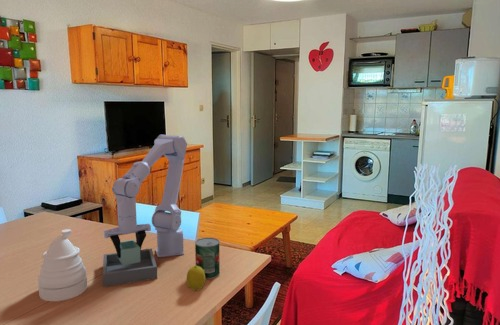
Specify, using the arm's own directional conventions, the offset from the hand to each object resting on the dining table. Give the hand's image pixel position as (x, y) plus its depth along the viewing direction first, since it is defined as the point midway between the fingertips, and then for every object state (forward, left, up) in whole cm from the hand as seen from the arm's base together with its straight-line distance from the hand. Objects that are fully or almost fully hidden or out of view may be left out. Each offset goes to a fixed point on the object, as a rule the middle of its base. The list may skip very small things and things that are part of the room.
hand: (128, 254), depth 121 cm
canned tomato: (-24, +10, -6) cm, 27 cm away
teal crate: (0, 0, -2) cm, 2 cm away
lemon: (-18, +20, -6) cm, 28 cm away
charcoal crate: (0, 0, -6) cm, 6 cm away
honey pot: (+19, +6, -6) cm, 21 cm away
